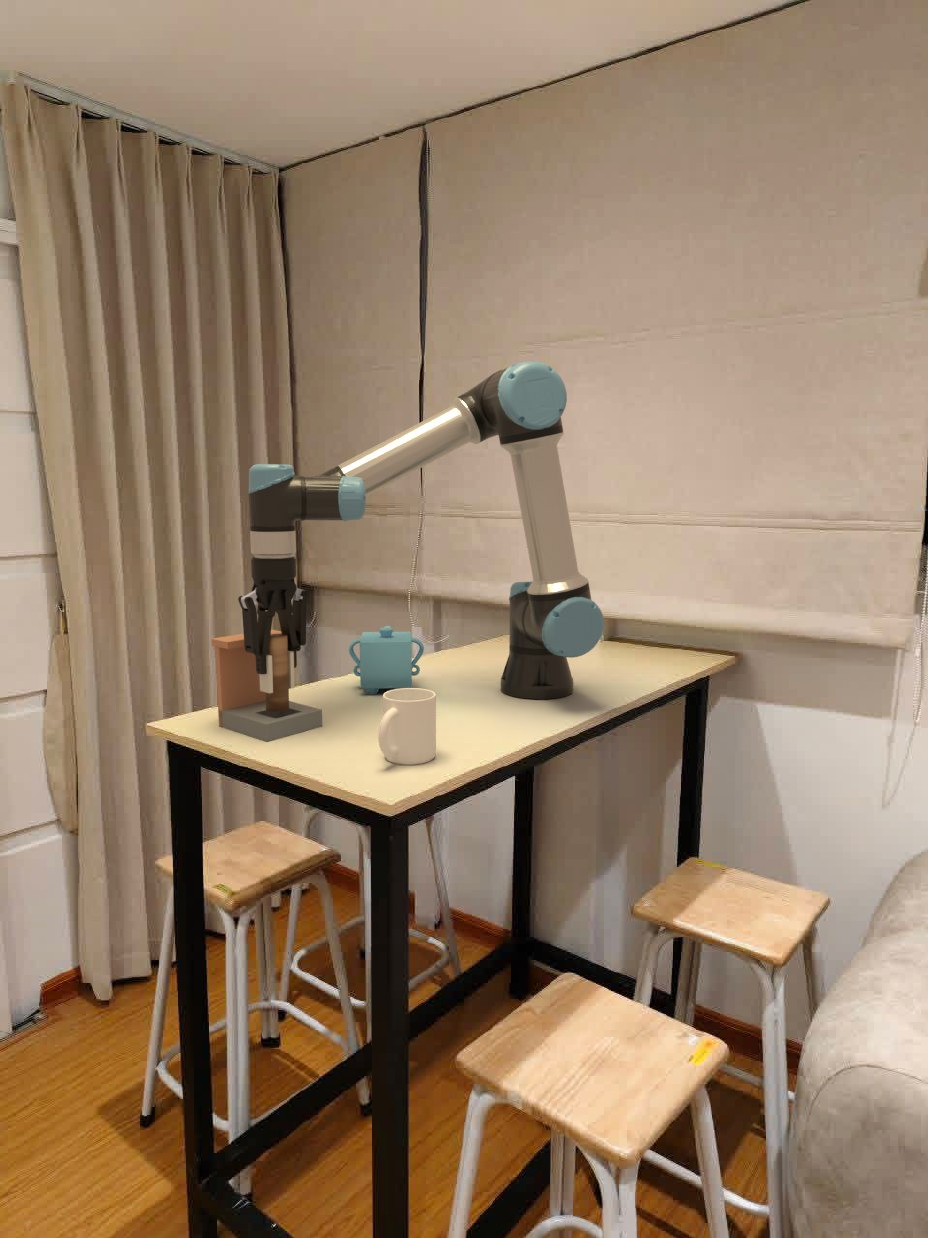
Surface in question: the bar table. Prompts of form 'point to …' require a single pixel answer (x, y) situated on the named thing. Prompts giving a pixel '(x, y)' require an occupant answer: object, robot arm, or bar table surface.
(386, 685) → the teal cube teapot
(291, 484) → the robot arm
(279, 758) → the bar table surface
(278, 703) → the walnut peg
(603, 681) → the bar table surface
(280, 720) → the socket stand
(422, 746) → the mug
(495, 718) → the bar table surface
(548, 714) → the bar table surface
